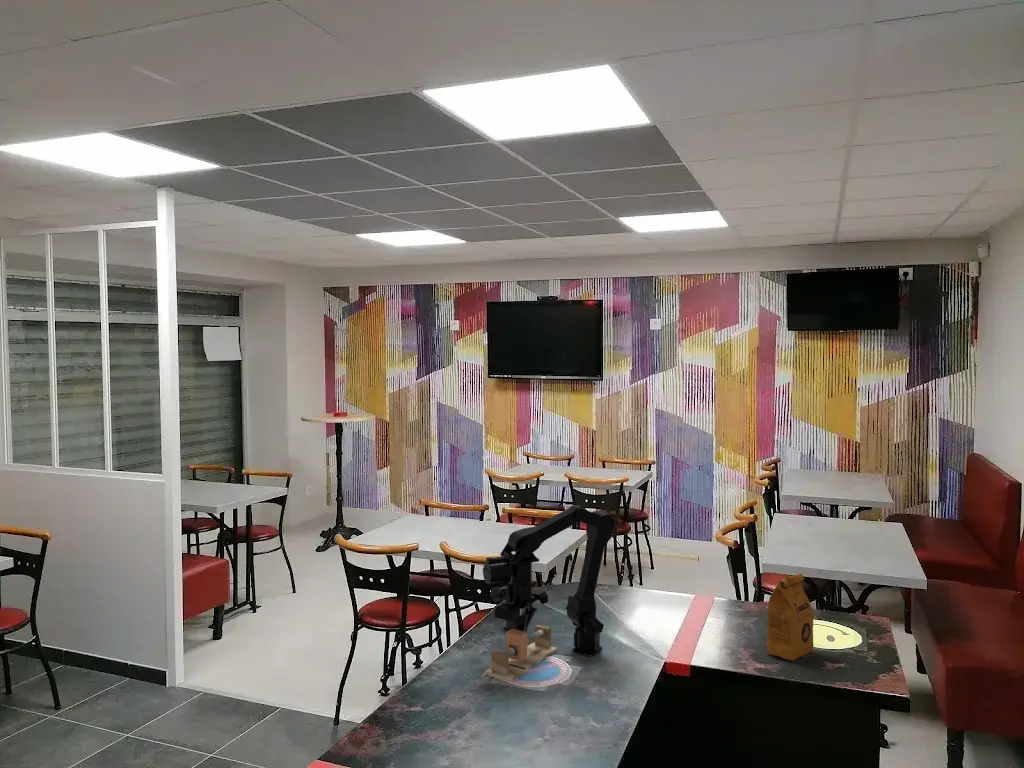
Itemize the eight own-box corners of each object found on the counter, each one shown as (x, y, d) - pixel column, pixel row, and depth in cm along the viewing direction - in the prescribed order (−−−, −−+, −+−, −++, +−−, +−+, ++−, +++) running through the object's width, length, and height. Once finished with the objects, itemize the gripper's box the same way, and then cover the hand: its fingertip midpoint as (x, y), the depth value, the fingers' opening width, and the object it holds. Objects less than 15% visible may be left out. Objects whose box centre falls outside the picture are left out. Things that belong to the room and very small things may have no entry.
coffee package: (819, 654, 204) (820, 576, 203) (793, 665, 197) (793, 584, 196) (788, 643, 212) (788, 568, 211) (761, 653, 205) (761, 575, 204)
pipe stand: (533, 645, 212) (533, 622, 212) (557, 651, 208) (557, 628, 208) (485, 675, 192) (484, 651, 192) (510, 682, 188) (510, 657, 188)
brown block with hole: (512, 653, 200) (511, 628, 200) (527, 657, 197) (527, 632, 197) (505, 657, 198) (505, 631, 197) (521, 661, 195) (520, 635, 195)
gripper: (515, 566, 211) (516, 619, 212) (477, 582, 196) (477, 640, 196) (548, 572, 205) (549, 627, 206) (511, 589, 190) (512, 649, 190)
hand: (521, 635), depth 200 cm, fingers closed
